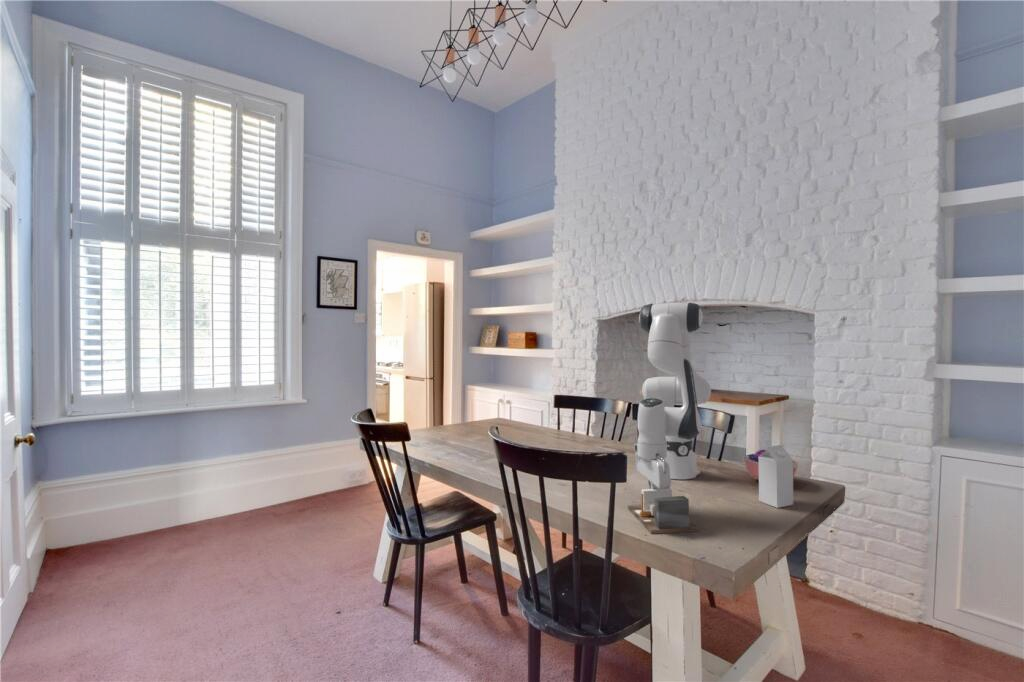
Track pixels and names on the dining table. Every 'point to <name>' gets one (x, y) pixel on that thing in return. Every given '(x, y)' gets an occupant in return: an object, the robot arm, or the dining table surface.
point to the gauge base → (666, 515)
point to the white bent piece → (649, 498)
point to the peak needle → (642, 508)
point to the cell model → (753, 464)
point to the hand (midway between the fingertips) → (652, 493)
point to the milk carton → (776, 477)
